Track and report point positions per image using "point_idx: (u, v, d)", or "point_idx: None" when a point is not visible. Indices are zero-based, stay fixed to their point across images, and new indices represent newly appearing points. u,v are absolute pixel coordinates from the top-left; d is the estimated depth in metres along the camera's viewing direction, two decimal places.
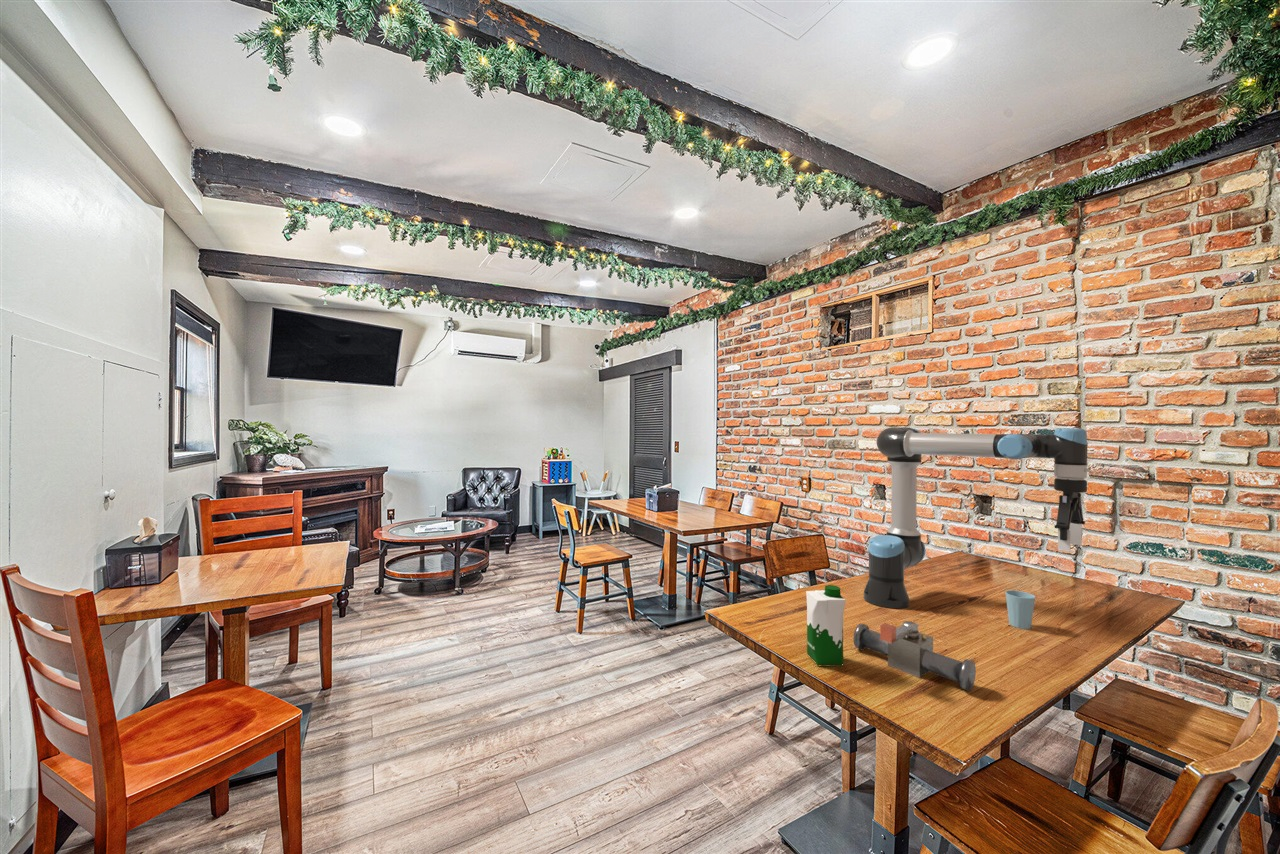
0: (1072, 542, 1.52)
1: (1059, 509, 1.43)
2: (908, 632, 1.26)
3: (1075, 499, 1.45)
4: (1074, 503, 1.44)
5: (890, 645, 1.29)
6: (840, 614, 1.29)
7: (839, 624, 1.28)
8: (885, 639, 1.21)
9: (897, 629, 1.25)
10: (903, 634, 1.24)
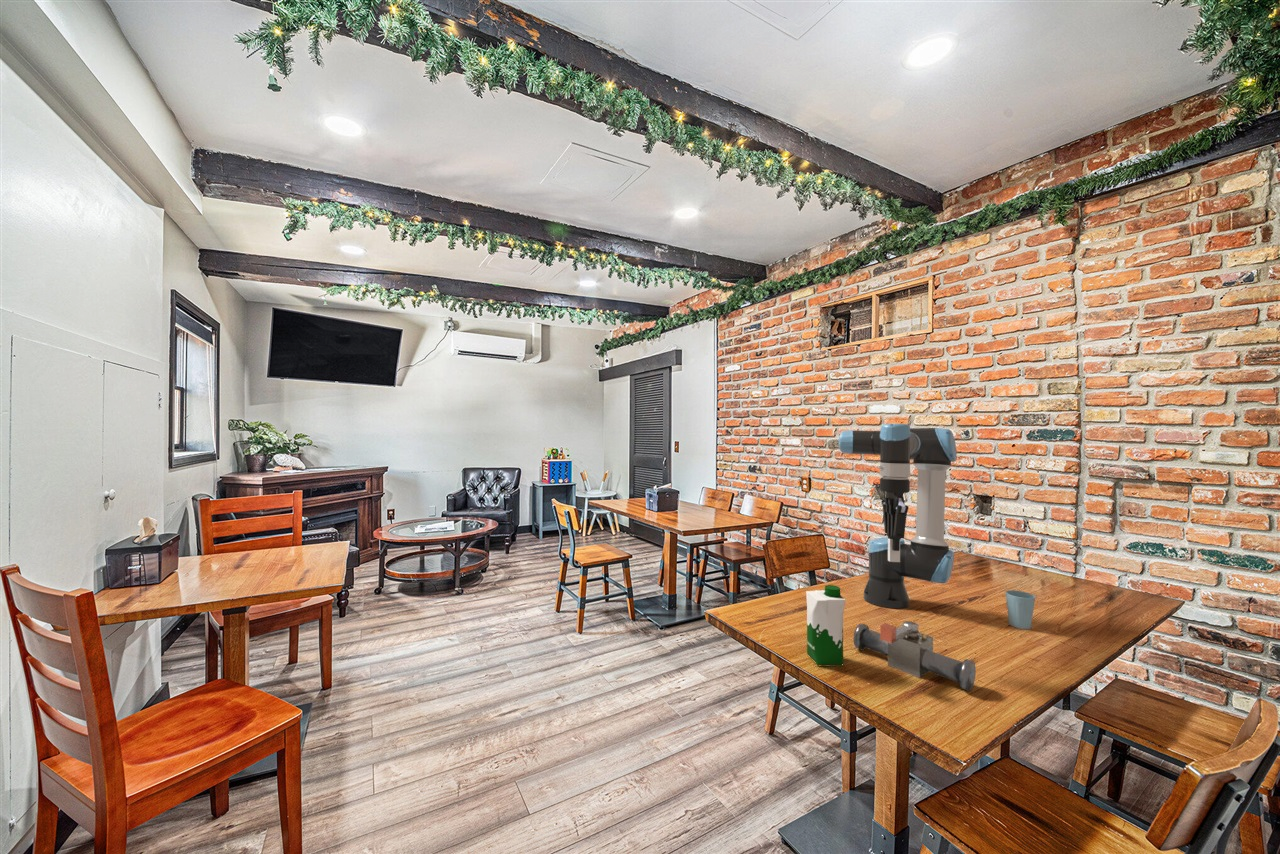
0: None
1: None
2: (908, 632, 1.26)
3: None
4: None
5: (890, 645, 1.29)
6: (840, 614, 1.29)
7: (839, 624, 1.28)
8: (885, 639, 1.21)
9: (897, 629, 1.25)
10: (903, 634, 1.24)
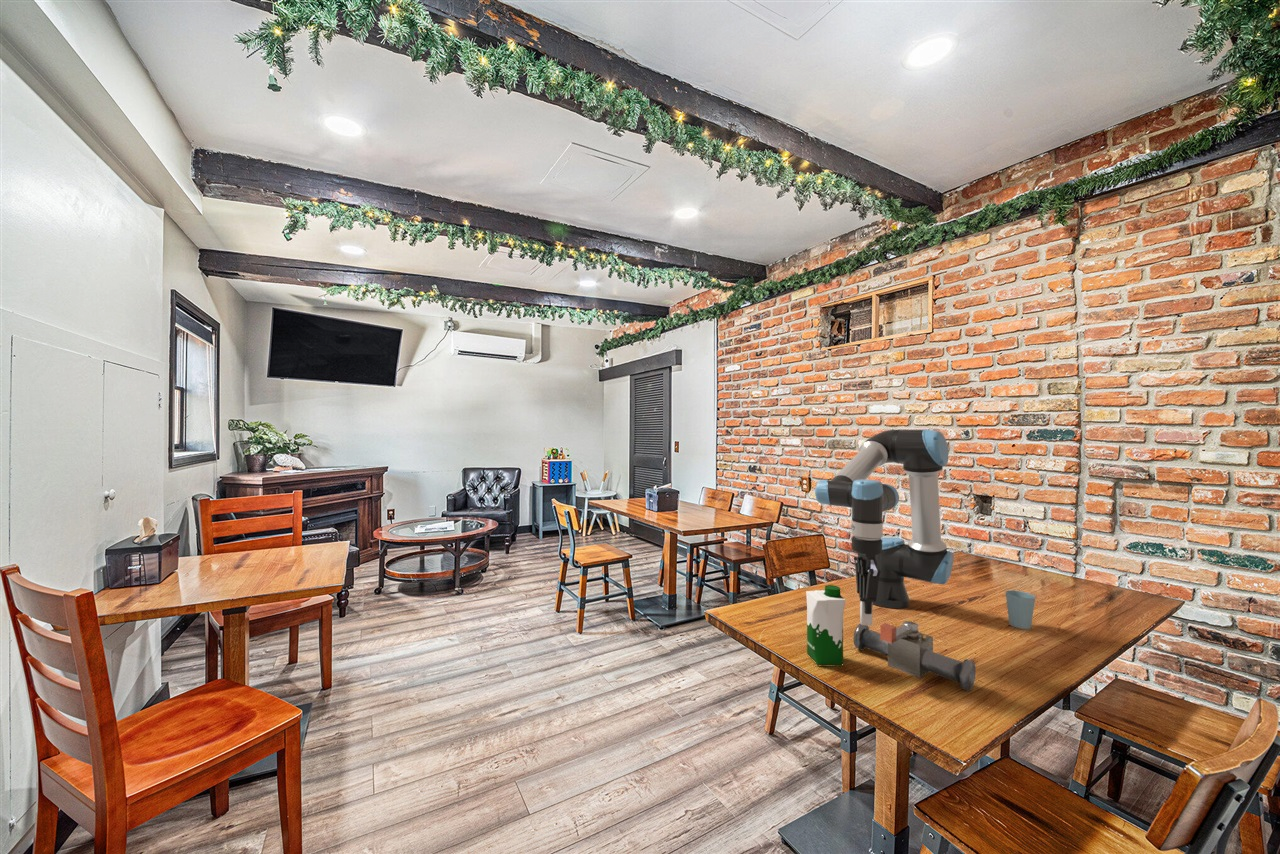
0: None
1: None
2: (908, 632, 1.26)
3: None
4: None
5: (890, 645, 1.29)
6: (840, 614, 1.29)
7: (839, 624, 1.28)
8: (885, 639, 1.21)
9: (897, 629, 1.25)
10: (903, 634, 1.24)
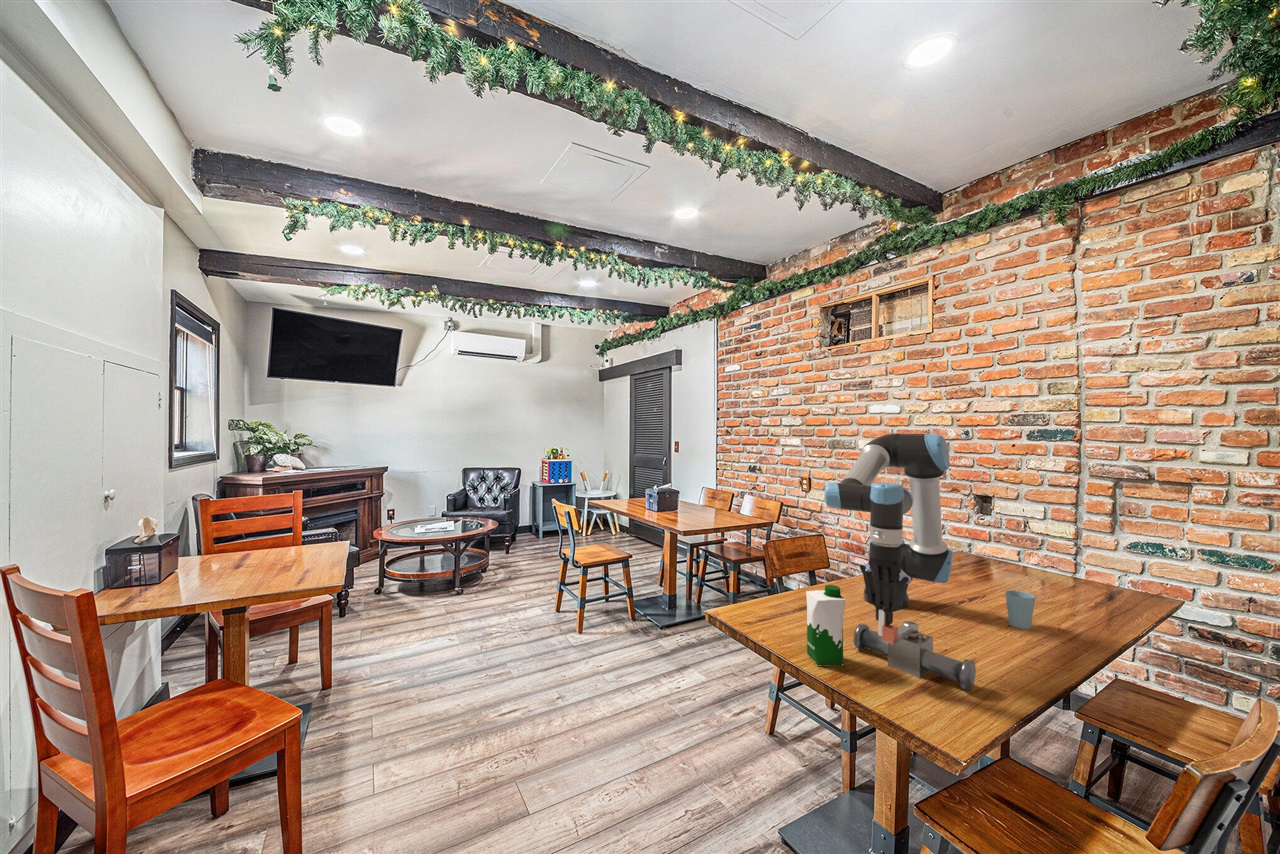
0: None
1: None
2: (909, 632, 1.26)
3: None
4: None
5: (890, 645, 1.29)
6: (840, 614, 1.29)
7: (839, 624, 1.28)
8: (887, 640, 1.20)
9: (898, 629, 1.25)
10: (904, 634, 1.24)
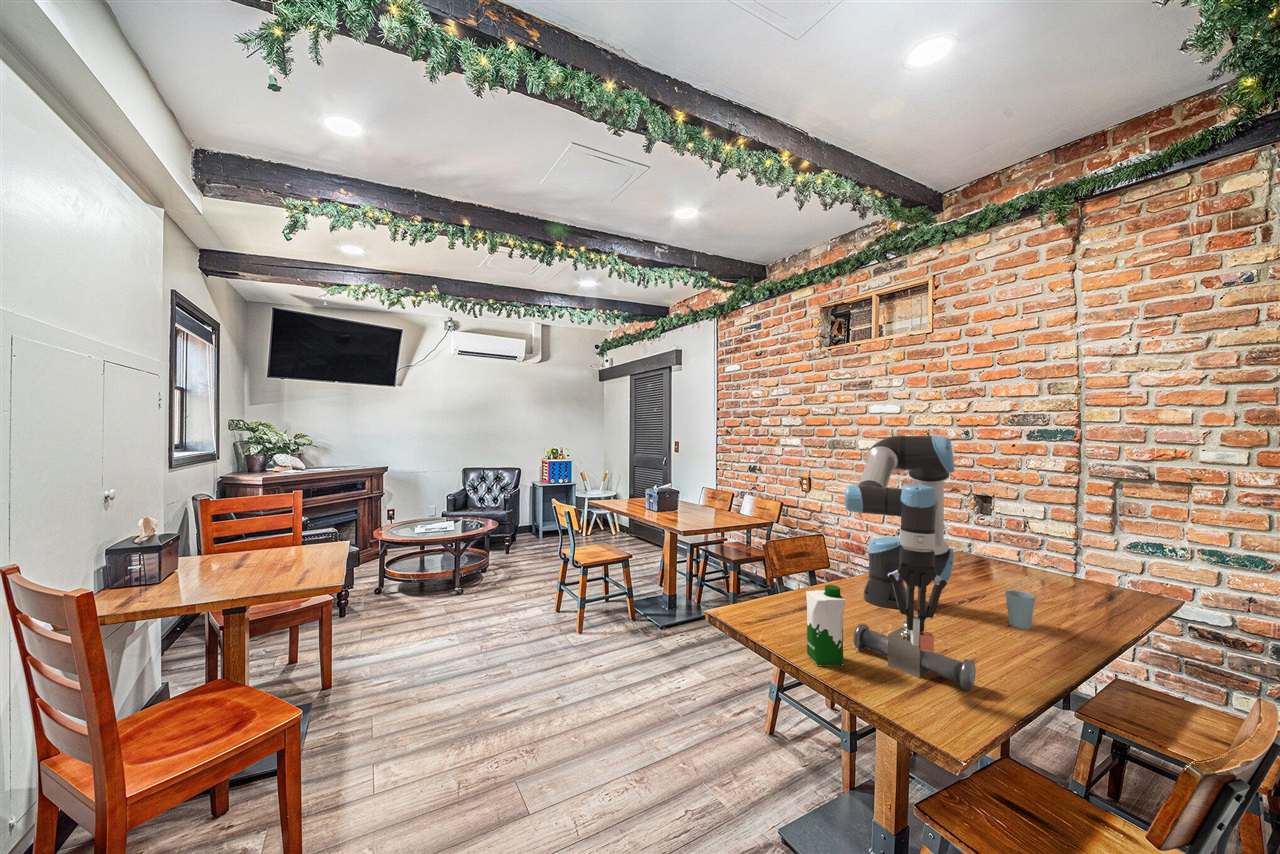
0: None
1: (893, 590, 1.21)
2: None
3: (909, 575, 1.18)
4: (909, 581, 1.18)
5: (890, 645, 1.29)
6: (840, 614, 1.29)
7: (839, 624, 1.28)
8: (926, 648, 1.16)
9: None
10: None
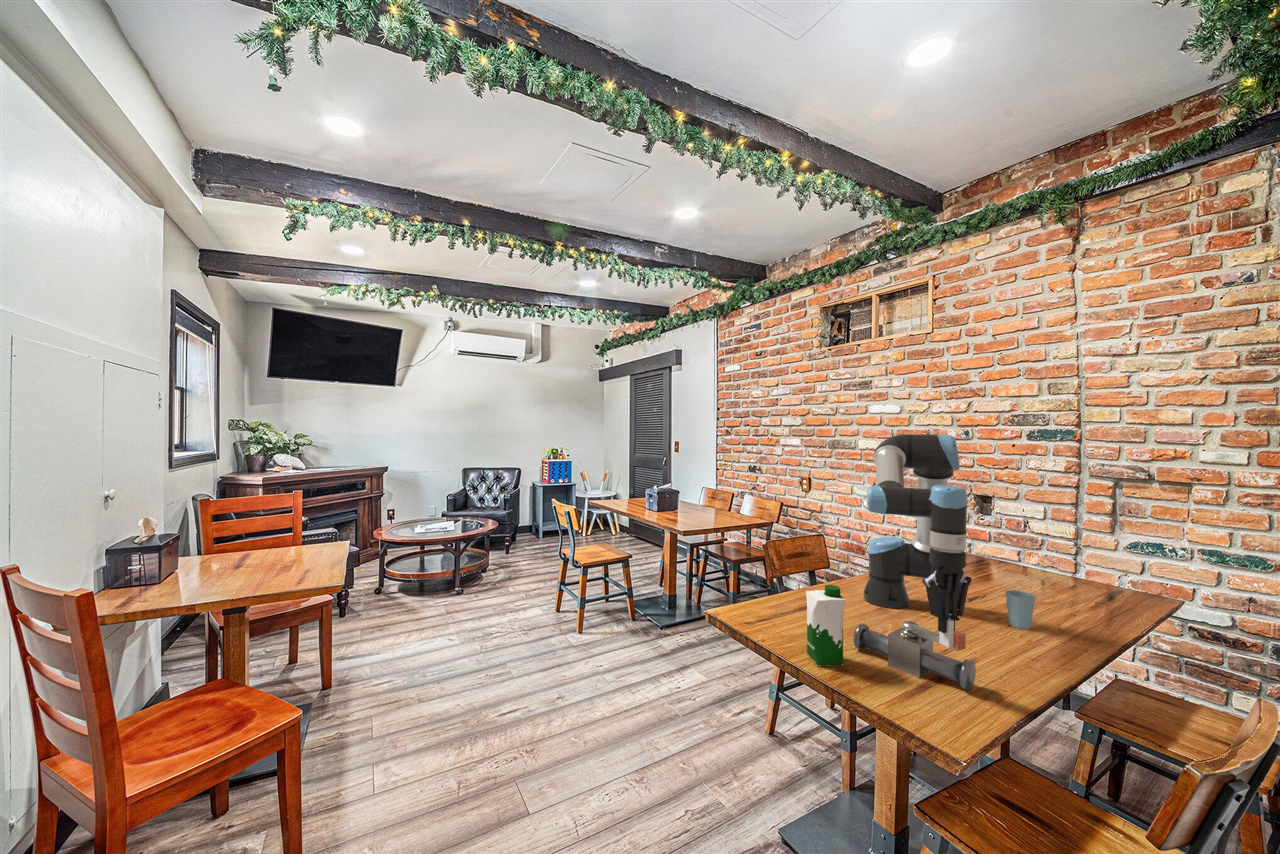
0: None
1: (928, 595, 1.17)
2: None
3: (946, 577, 1.16)
4: (946, 584, 1.16)
5: (890, 645, 1.29)
6: (840, 614, 1.29)
7: (839, 624, 1.28)
8: (961, 648, 1.16)
9: (931, 634, 1.23)
10: None
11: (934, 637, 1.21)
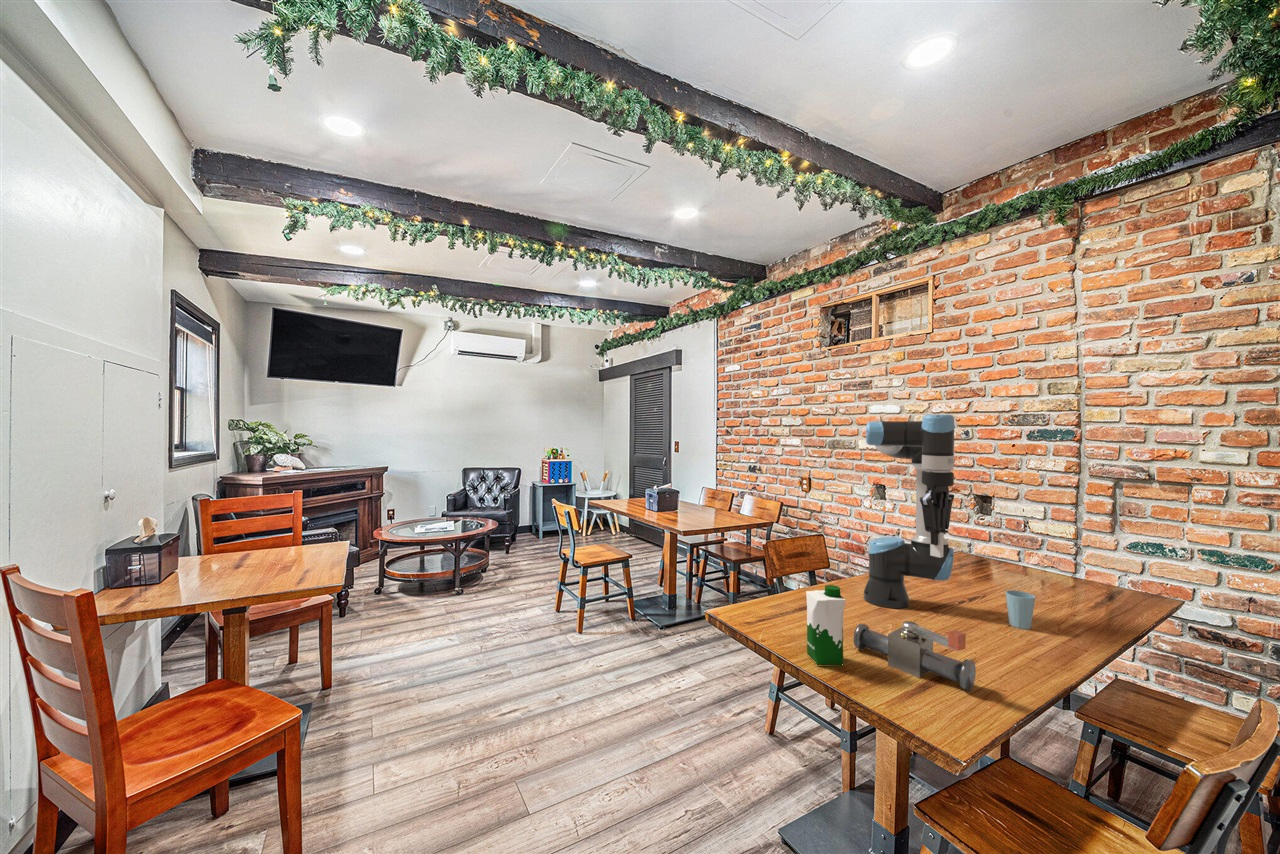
0: None
1: (923, 512, 1.30)
2: None
3: (939, 495, 1.29)
4: (939, 501, 1.29)
5: (890, 645, 1.29)
6: (840, 614, 1.29)
7: (839, 624, 1.28)
8: (961, 648, 1.16)
9: (931, 634, 1.23)
10: None
11: (934, 637, 1.21)
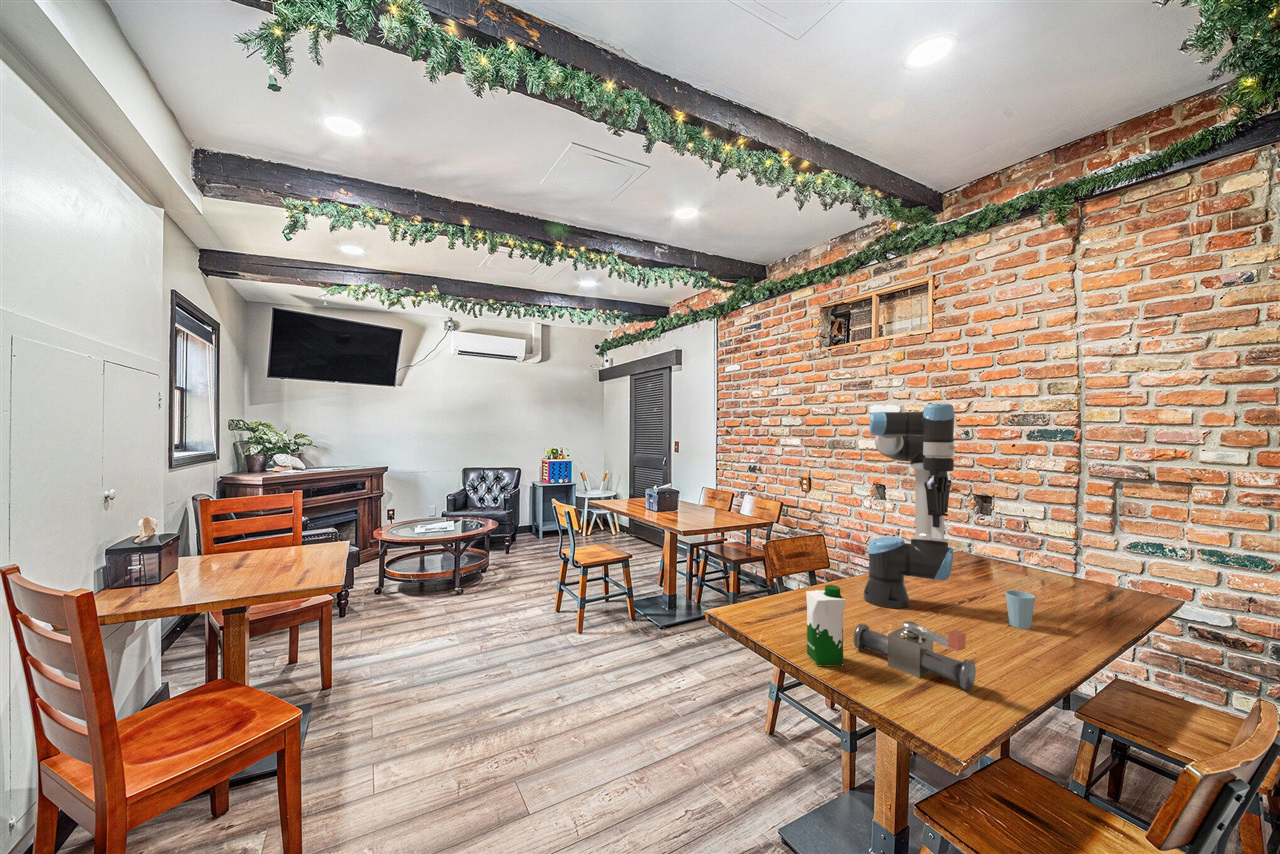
0: None
1: (927, 496, 1.37)
2: None
3: (941, 480, 1.37)
4: (941, 485, 1.37)
5: (890, 645, 1.29)
6: (840, 614, 1.29)
7: (839, 624, 1.28)
8: (961, 648, 1.16)
9: (931, 634, 1.23)
10: None
11: (934, 637, 1.21)
